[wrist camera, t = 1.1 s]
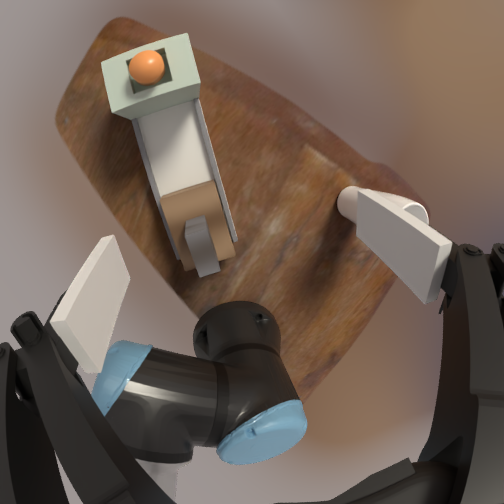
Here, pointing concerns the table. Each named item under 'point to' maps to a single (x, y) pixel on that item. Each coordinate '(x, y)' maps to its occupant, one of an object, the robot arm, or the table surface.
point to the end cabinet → (160, 94)
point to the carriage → (198, 227)
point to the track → (179, 155)
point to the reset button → (147, 68)
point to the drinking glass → (350, 195)
